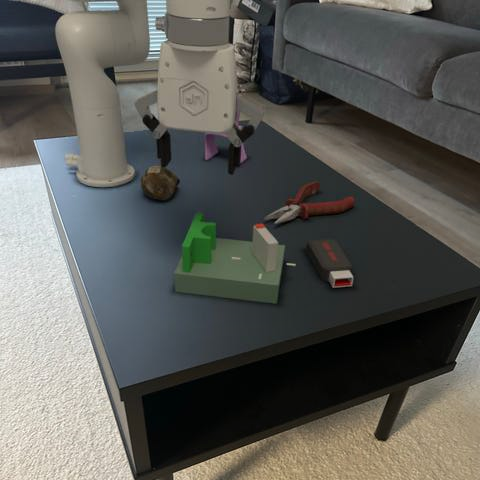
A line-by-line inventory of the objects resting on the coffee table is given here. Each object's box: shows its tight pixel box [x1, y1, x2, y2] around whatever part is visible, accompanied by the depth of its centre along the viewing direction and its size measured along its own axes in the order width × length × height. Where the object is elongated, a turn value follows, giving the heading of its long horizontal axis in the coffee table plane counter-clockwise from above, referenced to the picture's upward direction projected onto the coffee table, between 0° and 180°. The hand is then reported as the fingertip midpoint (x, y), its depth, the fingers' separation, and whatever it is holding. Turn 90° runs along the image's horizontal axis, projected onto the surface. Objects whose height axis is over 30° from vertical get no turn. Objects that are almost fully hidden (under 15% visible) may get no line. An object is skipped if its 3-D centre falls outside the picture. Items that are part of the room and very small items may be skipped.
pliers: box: [263, 181, 356, 226], centre depth 101 cm, size 12×20×3 cm, turn 133°
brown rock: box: [140, 165, 181, 201], centre depth 104 cm, size 8×7×10 cm
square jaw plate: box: [252, 223, 279, 272], centre depth 78 cm, size 6×2×5 cm, turn 21°
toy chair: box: [204, 94, 248, 164], centre depth 118 cm, size 8×9×15 cm
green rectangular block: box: [173, 237, 297, 305], centre depth 81 cm, size 18×12×4 cm, turn 81°
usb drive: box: [305, 238, 355, 289], centre depth 84 cm, size 5×12×3 cm, turn 10°
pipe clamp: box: [181, 212, 217, 273], centre depth 79 cm, size 11×4×5 cm, turn 173°
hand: (199, 167), depth 72 cm, fingers open, 9 cm apart
